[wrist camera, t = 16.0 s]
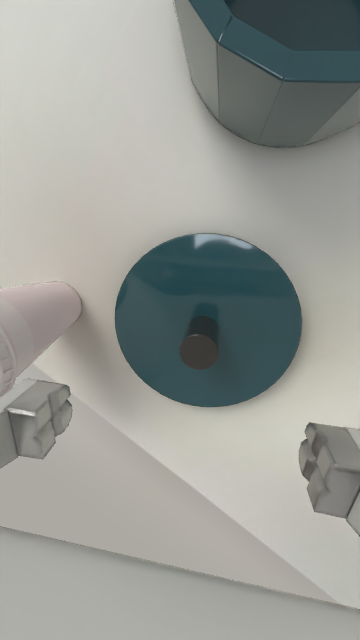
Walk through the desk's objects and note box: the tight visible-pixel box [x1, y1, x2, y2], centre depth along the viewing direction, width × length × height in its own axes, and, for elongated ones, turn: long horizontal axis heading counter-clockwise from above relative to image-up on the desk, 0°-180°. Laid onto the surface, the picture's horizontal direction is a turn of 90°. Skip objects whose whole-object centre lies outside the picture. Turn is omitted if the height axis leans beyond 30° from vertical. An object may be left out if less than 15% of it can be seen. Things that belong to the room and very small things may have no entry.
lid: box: [115, 233, 302, 407], centre depth 18 cm, size 14×14×5 cm
